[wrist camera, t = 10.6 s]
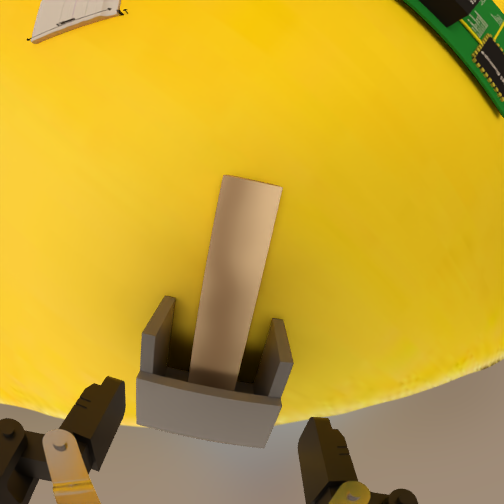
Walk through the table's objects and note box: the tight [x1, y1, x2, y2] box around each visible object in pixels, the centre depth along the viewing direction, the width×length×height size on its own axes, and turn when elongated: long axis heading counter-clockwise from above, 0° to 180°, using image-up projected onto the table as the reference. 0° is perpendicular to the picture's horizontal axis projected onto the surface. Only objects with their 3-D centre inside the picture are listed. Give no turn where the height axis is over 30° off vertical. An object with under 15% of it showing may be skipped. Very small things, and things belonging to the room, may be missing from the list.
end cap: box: [136, 296, 294, 448], centre depth 24 cm, size 11×9×8 cm
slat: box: [188, 175, 282, 391], centre depth 24 cm, size 4×18×5 cm, turn 168°
